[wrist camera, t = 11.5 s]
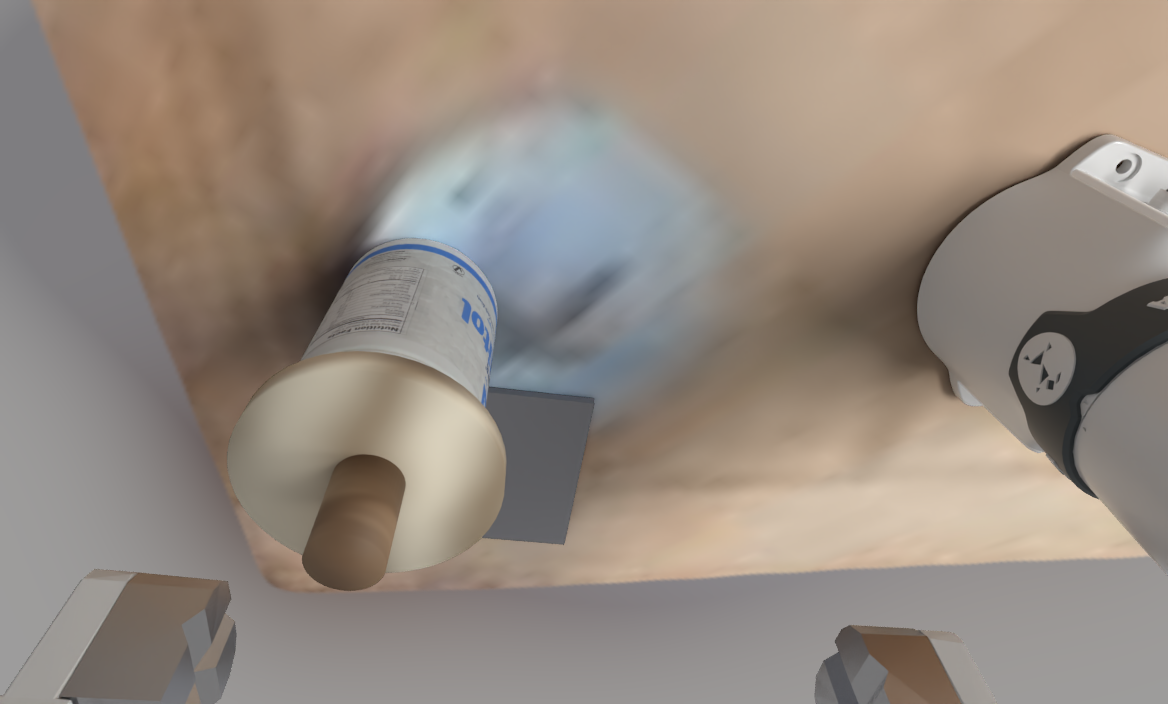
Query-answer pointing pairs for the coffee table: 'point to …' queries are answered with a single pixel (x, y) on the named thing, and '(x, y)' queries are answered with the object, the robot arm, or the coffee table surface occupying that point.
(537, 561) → the coffee table surface
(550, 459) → the mat
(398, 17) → the coffee table surface
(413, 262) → the supplement tub
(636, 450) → the coffee table surface
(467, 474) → the lid
